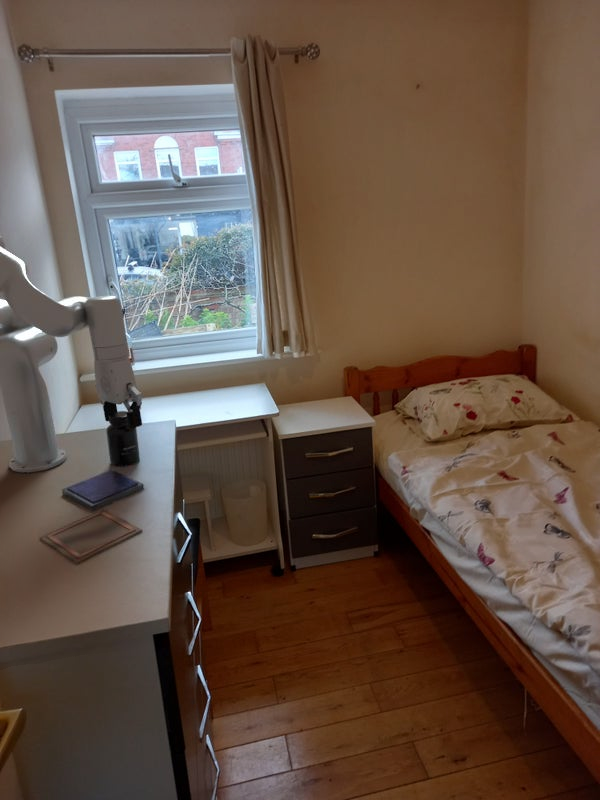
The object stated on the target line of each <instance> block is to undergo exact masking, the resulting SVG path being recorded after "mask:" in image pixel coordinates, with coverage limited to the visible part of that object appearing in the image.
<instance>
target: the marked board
mask: <svg viewBox="0 0 600 800" xmlns="http://www.w3.org/2000/svg"><path fill="white" fill-rule="evenodd" d="M142 532H143V529H142V528H140V527H138V526H136V525H134V524H133V523H131V522H128V521H127V520H126V519H123V518H121V517H119V516H117V514H114V513H113V512H110V511H108V510H106V509H105V508H103V509H102V508H101V509H100V510H98V511H95V512H94V513H91V514H89V515H87V516H84V517H82V518H80V519H78V520H75V521H73V522H71V523H68V524H66V525H64V526H62V527H60V528H57V529H55V530H53V531H50V532H48V533H45V534H44V535H42V536H39V538H40V540H41V541H42V542H44V543H45V544H46V545H48V546H50V547H51V548H52V549H54V550H55V551H57V552H59V553H60V554H61V555H63V557H65V558H67V560H70V561H71V562H73V563H74V564H75V565H80V564H82V563H83V562H85V561H87V560H89V559H91V558H93V557H95V556H97V555H99V554H101V553H103V552H105V551H107V550H110V549H111V548H113V547H115V546H117V545H118V544H121V543H123V542H125V541H127V540H129V539H131V538H133V537H135V536H136V535H138V534H141V533H142Z"/></svg>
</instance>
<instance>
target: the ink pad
mask: <svg viewBox="0 0 600 800" xmlns="http://www.w3.org/2000/svg"><path fill="white" fill-rule="evenodd" d="M144 486H145V485H144V483H142V482H140V481H137V480H136V479H133V478H132V477H129V476H127V475H125V474H122V473H121V472H118V471H116V470H114V469H110V470H108V471H105V472H102V473H100V474H97V475H96V476H92V477H90V478H87V479H85V480H82V481H79V482H77V483H75V484H72V485H70V486H68V487H64V488H62V489H61V491H62V492H61V493H62V495H63V496H65V497H67V498H68V499H70V500H72V501H74V502H76V503H77V504H79V505H81V506H83V507H85V508H86V509H88V510H89V511H91V512H94V511H95V512H96V511H97V510H99V509H100V510H101V509H102V508H104V507H107V506H109V505H111V504H113V503H115V502H117V501H120V500H122V499H124V498H127V497H129V496H131V495H133V494H136V493H138V492H140V491H142V490H145V487H144Z"/></svg>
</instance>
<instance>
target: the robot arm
mask: <svg viewBox="0 0 600 800" xmlns="http://www.w3.org/2000/svg"><path fill="white" fill-rule="evenodd" d="M28 272H29V269H28V265H27V263H26V262H25V261H24V260H22V259H21V258H19V257H17V256H16V255H14V254H12V253H11V252H9V251H8V250H6V244H5V241H4V238H3V237H2V236H1V235H0V294H1V295H2V297H3V298H0V392H1V396H2V401H3V405H4V409H5V414H6V419H7V423H8V424H7V425H8V428H9V429H8V430H9V434H10V439H11V443H12V448H13V453H14V457H12V458H11V459H10V460H9V462H8V465H9V468H11V469H12V470H11V469H10V470H11V471H13V472H16V473H25V472H26V473H35V472H42V471H46V470H49V469H52V468H54V467H57V466H58V465H60V464H62V463H63V462H65V460H66V459H67V453H66V451H65V450H64V449H63V448H59V447H58V446H59V445H58V440H57V436H56V434H57V433H56V430H55V429H56V428H55V424H54V419H53V412H52V407H51V402H50V396H49V390H48V387H47V384H46V382H45V379H44V378H43V375H42V373H41V371H40V369H39V368H40V367H41V366H43V365H46V364H47V363H49V362H50V361H52V360H53V359H54V358H55V357H56V355H57V351H58V340H57V339H56V338H65V337H68V336H70V335H72V334H74V333H77V332H80V331H82V330H84V329H88V331H89V337H90V339H91V340H90V341H91V346H92V352H93V357H94V359H93V360H94V361H93V362H94V365H93V366H94V378H95V389H96V392H97V393H96V394H97V398H99V400H100V404H101V405H102V410H103V414H104V419H105V421H106V422H109V415H110V414H111V413H114V412H118V407H117V405H122V404H123V406H124V407H125V409H126V410H127V412H126V413H127V419H128V425H129V428H130V429H133V428H136V429H137V428H138V427H142V425H143V422H142V415H141V414H142V413H141V409H142V407H141V406H142V403H143V401H142V399H143V394H142V392H140V391H139V390H138V389H137V382H136V378H135V373H134V371H133V370H134V369H133V366H132V362H131V360H130V351H129V344H128V338H127V333H126V327H125V320H124V314H123V309H122V308H123V307H122V303H121V300H120V298H118V297H117V296H115V295H100V296H93V297H92V296H89V297H88V296H79V295H77V296H75V295H74V296H68V297H64V298H61V299H59V300H55V299H53V298H52V297H50V295H49V296H48V295H47V294H46V293H44V292H43V291H41V290H39V289H38V288H37V287H35V286H34V285H33V284H32V283H31V281H30V280H29V278H28ZM130 403H131V405H130Z"/></svg>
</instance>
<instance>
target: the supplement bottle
mask: <svg viewBox="0 0 600 800" xmlns="http://www.w3.org/2000/svg"><path fill="white" fill-rule="evenodd" d="M126 412H128V410H127V411H126V410H123V411H122V410H120V411H117V412H114V413H111V414H110V415H109V421H108V423H109V425H108V426H107V428H106V430H105V431H106V432H105V433H106V440H107V447H108V455H109V461H110V463H111V465H113V466H115V467H128V466H132V465H135V464H136V463H138V462H139V460H140V449H139V448H140V447H139V439H138V432H137V427H136V428H133V429H130V428H129V425H128V419H127V413H126Z"/></svg>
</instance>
